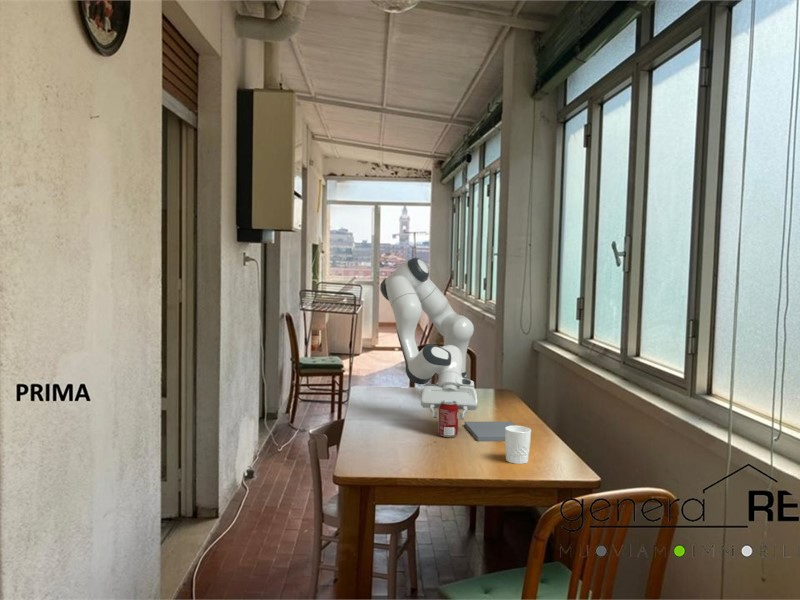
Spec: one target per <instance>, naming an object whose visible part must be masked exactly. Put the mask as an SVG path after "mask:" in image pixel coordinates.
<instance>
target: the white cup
mask: <svg viewBox="0 0 800 600" xmlns="http://www.w3.org/2000/svg"><path fill="white" fill-rule="evenodd" d="M531 435H532V429H531V428H529V427H527V426H522V425H516V426H507V427H506V428H505V441H504V444H505V448H504V449H505V460H506V461H507V462H508V463H510V464H515V465H516V464H517V465H522V464H527V463H528V462H529V454H530V448H531V437H532V436H531Z"/></svg>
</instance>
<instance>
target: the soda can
mask: <svg viewBox="0 0 800 600" xmlns="http://www.w3.org/2000/svg"><path fill="white" fill-rule="evenodd" d="M445 401H446V400H444V401H441V405H440V406H439V408H438V409H439V410H438V431H437V432H438V435H439V436H441V437H442V436H443V437H442V438H447V439H449V438H455V437H457V436H458V435H459V433H458V431H459V410H460V409H459V408H458V406H457V402H456V401H453V402H445Z"/></svg>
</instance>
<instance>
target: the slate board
mask: <svg viewBox="0 0 800 600" xmlns="http://www.w3.org/2000/svg"><path fill="white" fill-rule="evenodd" d="M507 426H517V425H516V424H515V423H513V421H464V427H465V428H466V429H467V431H470V432H469V433H470V434H471V435H472V436H473V437H474V438H475V440H476V441H477V442H505V428H506V427H507Z"/></svg>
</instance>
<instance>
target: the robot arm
mask: <svg viewBox="0 0 800 600" xmlns="http://www.w3.org/2000/svg"><path fill="white" fill-rule="evenodd" d="M429 274H430V270H429V267H428V266H427V264H426V263H425V262H424V261H423V260H422V259H421V258H418V257H412V258H411V259H409V260H407V261H406V262H405V263H403V264H401V265H400V266H398V267H397V268H396V269H395V270H394V271H393V272H392V273H391V274H389V275H388V276H387V277H385V278H384V279H383V280H382V281H381V283H380V287H379V290H380V292H381V294H382V296H383V297H384V299H385V300H387V301H388V302H389V304H390V306H391V309H392V311H393V315H394V320H395V325H396V328H395V329H396V334H397V338H398V342H399V345H400V348H401V352H402V355H403V359H404V362H405V364H404V365H405V373H406V375H407V378H408V379H409V380H410V382H412V383H414V384H416V385H422V386H421V388H420V393H421V398H420V405H421V407H422V408H424V409H425V408H426V409H427V408H428V409H430V413H432V418H433V419H438V411H435V409H439V406H440V405H441V401H444V400H446V401H445V402H453V401H456V402H457V406H458V408H459V409H458V410H460V411H461V410H463V411H462V412H460V413H459V420H461V421H462V420H463V421H465V416H466V415H467V413H468V411H476V410H477V409H478V403H479V402H478V395H477V390H476V389H475V381H473V380H471V379H468V378H467V371H466V368H467V366H466V365H467V352H468V347H469V344H470V339H471V337H472V336H473V334H474V331H475V330H474V329H475V327H474V324H473V322H472V321H471V320H470V319H469V318H468V317H466V316H464V315H462V314H461V315H460V314H458V313H457V312H456V311H455V310H454V309H453V308H452V306H451V304H450V302H449V300H448V297H446V296H445V294H444V293H443V292H442V291H441V290H440V288H439V287H438V286H437V285H436V284H435V283H434V282H433V281H432V280H431V279H430V278H429V276H430V275H429ZM423 312H424V313H425V314H426V316H427V317H428V318H429V319H430V321H431V323H432V324H433V326H434V327H435V328H436V330H437V332H438V333H439V334H440V335H441V336H442V337H444V343H443V346H440V345H437V344H433V343H429V344H426V345H425V346H424V347H423V348H422V349H420V350H419V347H418V345H417V342H416V331H417V328H418V324H419V321H420V319H421V317H422V314H423ZM435 374H437V375H438V379H437V382H436V383H428V382H429V381H430V380H431V379H432V377H433V376H434V375H435Z"/></svg>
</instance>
